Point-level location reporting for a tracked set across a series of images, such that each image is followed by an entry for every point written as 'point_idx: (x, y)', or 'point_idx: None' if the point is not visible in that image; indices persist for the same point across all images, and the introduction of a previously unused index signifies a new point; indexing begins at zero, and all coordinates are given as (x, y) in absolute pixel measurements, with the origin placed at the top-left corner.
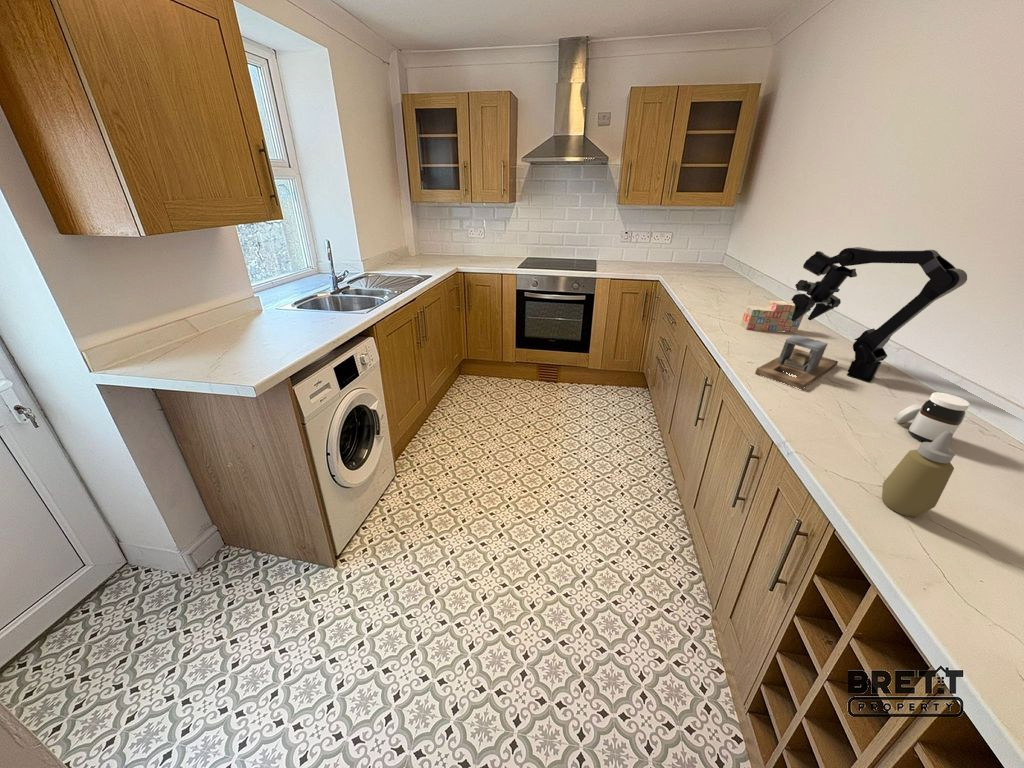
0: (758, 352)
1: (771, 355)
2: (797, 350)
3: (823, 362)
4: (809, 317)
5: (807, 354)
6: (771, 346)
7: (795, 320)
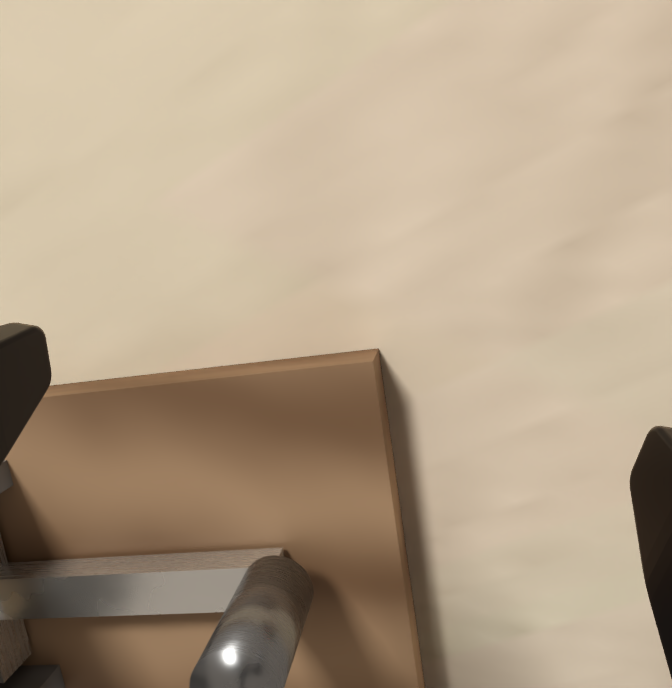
0: (48, 168)
1: (104, 277)
2: (332, 406)
3: None
4: (662, 473)
5: (316, 513)
6: (356, 113)
7: (17, 417)
